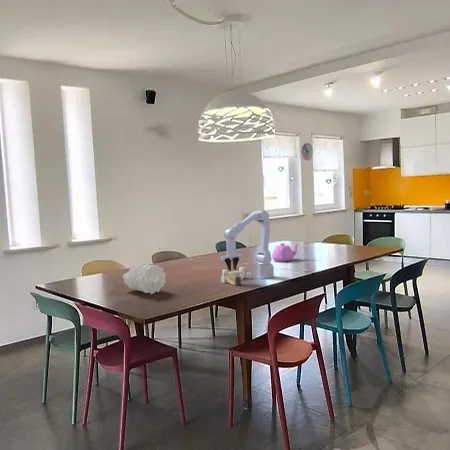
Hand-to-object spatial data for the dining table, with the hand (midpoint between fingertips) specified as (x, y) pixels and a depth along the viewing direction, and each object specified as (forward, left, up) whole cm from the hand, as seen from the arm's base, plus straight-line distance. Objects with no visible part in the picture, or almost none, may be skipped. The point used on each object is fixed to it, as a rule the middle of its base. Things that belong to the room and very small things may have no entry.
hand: (232, 269), depth 293 cm
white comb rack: (-7, -8, -8) cm, 13 cm away
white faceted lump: (+51, -16, -9) cm, 55 cm away
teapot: (-75, -42, -9) cm, 86 cm away
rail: (+1, 0, -8) cm, 8 cm away
